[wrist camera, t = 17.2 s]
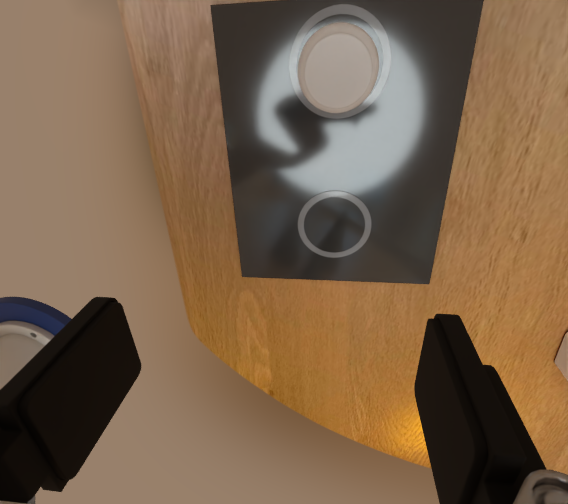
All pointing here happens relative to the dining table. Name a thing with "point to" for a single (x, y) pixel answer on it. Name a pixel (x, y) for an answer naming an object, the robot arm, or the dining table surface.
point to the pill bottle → (338, 67)
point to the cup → (563, 357)
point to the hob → (342, 138)
